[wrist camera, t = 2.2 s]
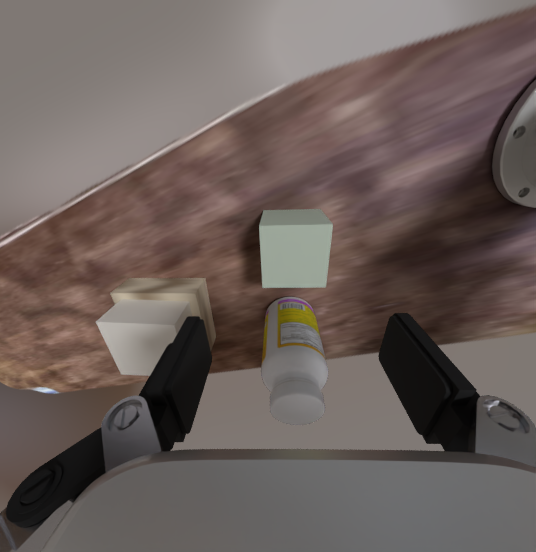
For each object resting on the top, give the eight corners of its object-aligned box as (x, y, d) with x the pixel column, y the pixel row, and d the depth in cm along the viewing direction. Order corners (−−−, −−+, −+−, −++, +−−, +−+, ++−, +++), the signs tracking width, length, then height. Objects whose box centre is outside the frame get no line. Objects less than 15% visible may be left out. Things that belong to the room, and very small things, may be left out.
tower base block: (206, 276, 28) (195, 293, 24) (217, 334, 32) (209, 355, 29) (131, 276, 28) (110, 293, 25) (152, 333, 33) (137, 354, 29)
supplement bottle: (286, 339, 32) (290, 439, 20) (255, 311, 29) (241, 407, 18) (324, 316, 29) (352, 415, 18) (294, 285, 27) (304, 375, 16)
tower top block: (189, 301, 25) (174, 325, 21) (199, 350, 28) (188, 377, 25) (121, 298, 25) (95, 321, 21) (140, 348, 29) (121, 374, 25)
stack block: (320, 208, 23) (333, 224, 17) (316, 260, 25) (325, 287, 20) (263, 210, 23) (259, 225, 18) (265, 261, 26) (262, 287, 21)
